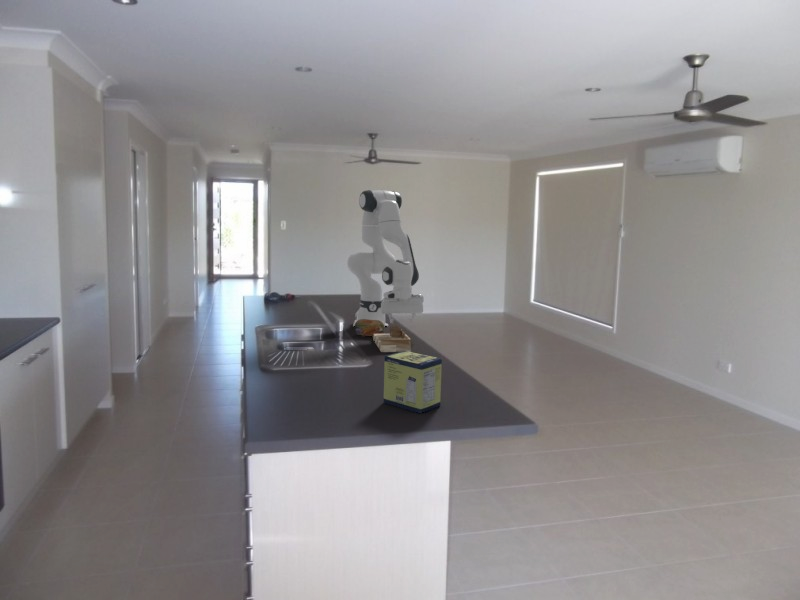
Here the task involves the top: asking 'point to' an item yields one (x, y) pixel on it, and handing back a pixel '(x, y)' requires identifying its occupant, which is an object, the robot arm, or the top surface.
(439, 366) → the protein box
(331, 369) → the top surface
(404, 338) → the board
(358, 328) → the tin
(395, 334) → the walnut block
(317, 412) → the top surface
